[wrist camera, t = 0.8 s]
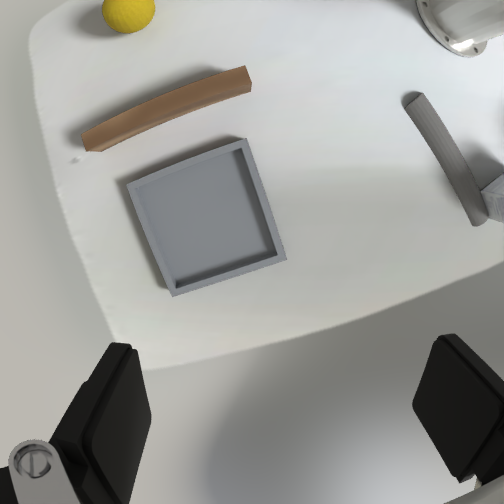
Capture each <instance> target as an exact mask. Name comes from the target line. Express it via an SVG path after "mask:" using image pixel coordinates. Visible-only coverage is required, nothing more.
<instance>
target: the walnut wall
mask: <svg viewBox="0 0 504 504" xmlns="http://www.w3.org/2000/svg"><path fill="white" fill-rule="evenodd" d="M251 85H252V82H251V79H250V77H249V74H248V72H247V69H246V66H241V67H238V68H235V69H231V70H228V71H225V72H222V73H219V74H216V75H213V76H210V77H207V78H204V79H202V80H199V81H196V82H193V83H191V84H188V85H185V86H183V87H180V88H178V89H175V90H173V91H170V92H168V93H165V94H163V95H161V96H158V97H156V98H154V99H151V100H149V101H147V102H144V103H142V104H140V105H138V106H136V107H133V108H131V109H129V110H127V111H125V112H123V113H121V114H119V115H117V116H115V117H113V118H111V119H109V120H107V121H105V122H103V123H101V124H99V125H97V126H95V127H94V128H92V129H90V130H88V131H86V132H84V133H83V134H81V137H82V140H83V143H84V146H85V150H86V151H97V152H102V151H104V150H106V149H108V148H110V147H112V146H114V145H116V144H118V143H120V142H122V141H124V140H126V139H128V138H130V137H133V136H135V135H137V134H139V133H141V132H144V131H146V130H148V129H150V128H153V127H155V126H157V125H160V124H162V123H165V122H167V121H169V120H172V119H174V118H177V117H179V116H182V115H184V114H187V113H190V112H192V111H195V110H198V109H200V108H203V107H206V106H209V105H211V104H214V103H217V102H220V101H223V100H226V99H229V98H232V97H235V96H238V95H241V94H245V93H248V92H251Z"/></svg>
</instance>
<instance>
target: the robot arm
mask: <svg viewBox="0 0 504 504" xmlns="http://www.w3.org/2000/svg"><path fill="white" fill-rule="evenodd" d="M416 1H417V7H418V11H419V13H420V15H421V18H422V20H423V21H424V23H425V25H426V26H427V28H428V29H429V31H430V32H431V33H432V34H433V36H434V37H435V38H436V39H437V40H438V41H439V42H440V43H441V44H442V45H443V46H445V47H446V48H447V49H449V50H450V51H452V52H454V53H455V54H458V55H460V56H463V57H474V56H478V55H480V54H481V53H483V51H484V50H485V48H486V45H487V40H489V39H492V38H495V37H498V36H501V35H504V0H416ZM412 406H413V410H414V412H415V413H416V415H417V416H418V418H419V420H420V422H421V423H422V425H423V427H424V428H425V430H426V432H427V433H428V435H429V437H430V438H431V440H432V442H433V443H434V445H435V447H436V449H437V450H438V452H439V454H440V455H441V457H442V459H443V461H444V462H445V464H446V466H447V468H448V469H449V471H450V473H451V474H452V476H454V477H456V478H457V480H458V481H459V483H462V482H464V481H466V480H469V479H471V478H472V477H473V476H474V474H475V475H476V476H477V479H476V484H475V488H474V491H471V492H469V493H467V494H465V495H463V496H461V497H458V498H456V499H454V500H451V501H449V502H447V503H444V504H504V381H503V380H502V379H501V378H500V377H499V376H498V375H497V374H496V373H495V372H494V371H493V370H492V369H491V368H490V367H489V366H488V365H487V364H486V363H485V362H484V361H483V360H482V359H481V358H480V357H479V356H478V355H477V354H476V353H475V352H474V351H473V350H472V349H471V348H470V347H469V346H468V345H467V344H466V343H465V342H464V341H463V340H461V339H460V338H459V337H458V336H457V335H456V334H446V335H441V336H439V337H438V338H437V340H436V341H434V343H433V345H432V349H431V352H430V355H429V358H428V361H427V364H426V367H425V370H424V372H423V375H422V378H421V381H420V383H419V386H418V389H417V391H416V394H415V397H414V399H413V403H412ZM150 425H151V411H150V407H149V402H148V398H147V394H146V389H145V385H144V380H143V376H142V371H141V366H140V361H139V356H138V351H137V350H136V349H132V346H131V345H130V344H126V343H115V342H112V343H111V344H110V345H109V347H108V348H107V350H106V351H105V353H104V354H103V356H102V358H101V359H100V361H99V363H98V364H97V366H96V367H95V369H94V371H93V372H92V374H91V376H90V377H89V379H88V381H86V382H84V383H83V384H82V385H81V387H80V389H79V391H78V392H77V394H76V395H75V397H74V399H73V401H72V402H71V404H70V405H69V407H68V409H67V411H66V412H65V414H64V416H63V417H62V419H61V421H60V423H59V425H58V426H57V428H56V430H55V432H54V433H53V435H52V437H51V439H50V441H49V442H48V443H47V442H45V441H42V440H27V441H25V442H23V443H20V444H19V445H17V446H16V447H15V448H14V449H13V450H12V452H11V453H10V456H9V459H8V462H9V466H7V467H4V468H0V504H129V501H130V498H131V494H132V490H133V486H134V482H135V478H136V475H137V471H138V467H139V463H140V460H141V456H142V453H143V449H144V446H145V442H146V438H147V435H148V431H149V428H150Z"/></svg>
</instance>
